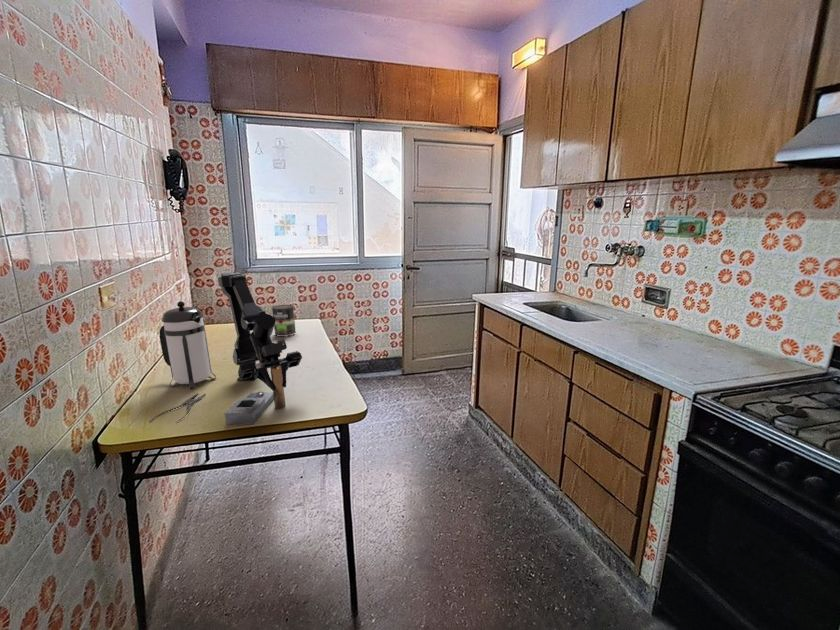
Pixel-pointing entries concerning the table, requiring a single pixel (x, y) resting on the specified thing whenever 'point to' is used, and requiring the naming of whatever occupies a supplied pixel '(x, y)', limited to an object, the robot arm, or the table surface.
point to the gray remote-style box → (248, 408)
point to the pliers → (189, 402)
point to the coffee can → (284, 320)
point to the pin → (278, 387)
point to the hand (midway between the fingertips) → (279, 388)
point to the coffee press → (185, 345)
